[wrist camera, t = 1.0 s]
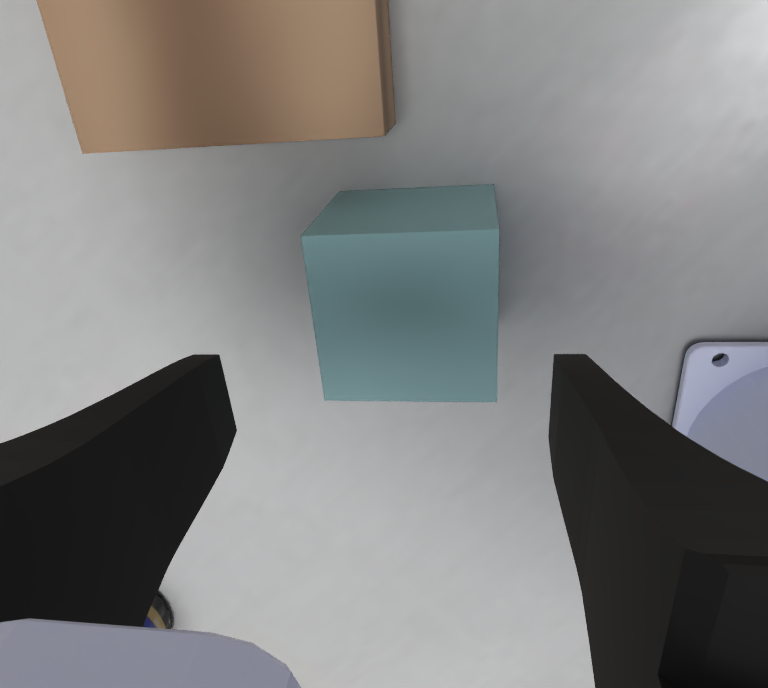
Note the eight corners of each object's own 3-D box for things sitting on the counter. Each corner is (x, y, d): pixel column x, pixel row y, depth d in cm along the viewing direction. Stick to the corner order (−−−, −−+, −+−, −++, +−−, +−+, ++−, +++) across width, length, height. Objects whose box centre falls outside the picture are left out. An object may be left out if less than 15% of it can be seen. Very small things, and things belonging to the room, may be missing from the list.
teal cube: (493, 183, 19) (499, 229, 14) (491, 325, 21) (496, 402, 16) (339, 190, 19) (300, 236, 15) (355, 326, 22) (324, 400, 17)
